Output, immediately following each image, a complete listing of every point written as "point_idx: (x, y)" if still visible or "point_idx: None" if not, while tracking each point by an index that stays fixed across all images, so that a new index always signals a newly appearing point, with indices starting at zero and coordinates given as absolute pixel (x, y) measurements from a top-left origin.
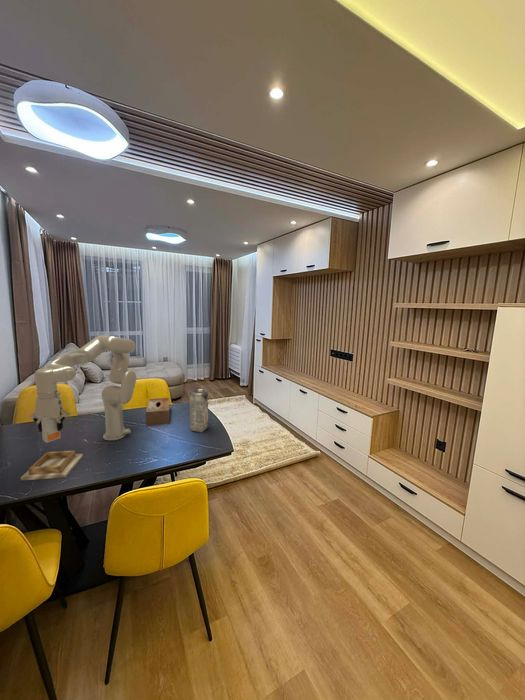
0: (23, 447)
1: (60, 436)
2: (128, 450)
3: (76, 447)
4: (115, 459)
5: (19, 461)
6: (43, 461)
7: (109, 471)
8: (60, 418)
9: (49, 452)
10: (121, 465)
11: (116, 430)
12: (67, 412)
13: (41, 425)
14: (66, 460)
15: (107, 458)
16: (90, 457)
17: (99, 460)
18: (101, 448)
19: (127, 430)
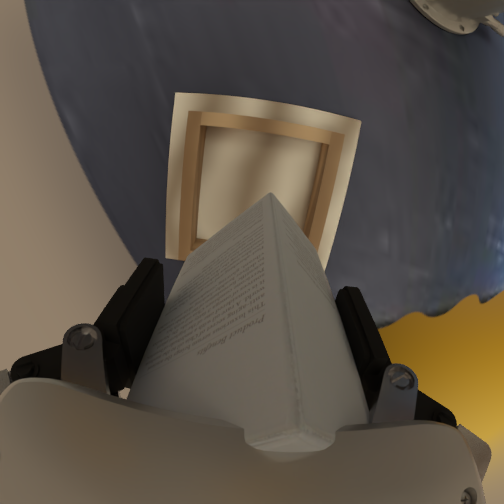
0: (71, 7)
1: (317, 255)
2: (496, 152)
3: (300, 18)
4: (463, 203)
5: (93, 106)
6: (200, 166)
7: (439, 274)
8: (387, 412)
9: (205, 116)
10: (469, 249)
11: (478, 16)
12: (485, 471)
13: (145, 360)
14: (321, 231)
15: (444, 183)
16: (389, 145)
17: (421, 188)
18: (418, 78)
19: (499, 26)
